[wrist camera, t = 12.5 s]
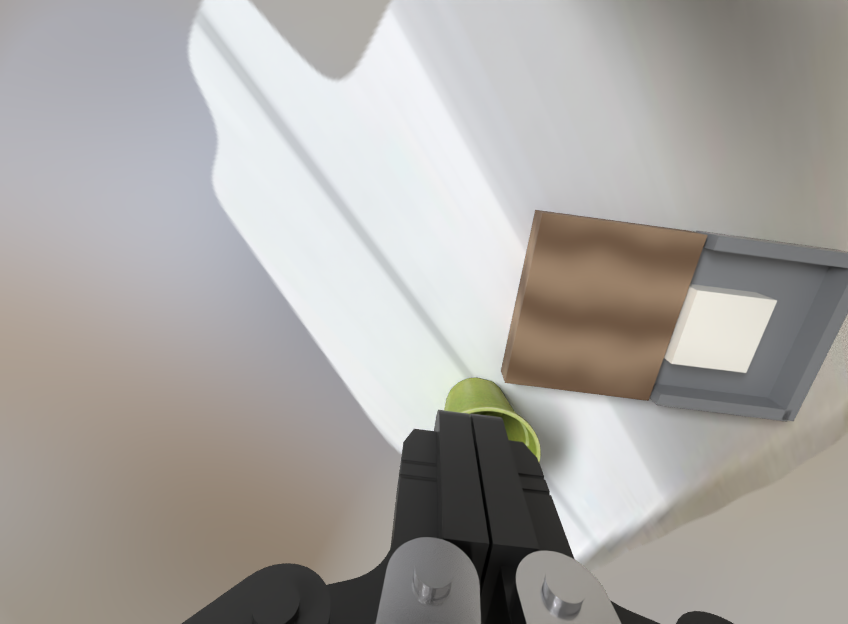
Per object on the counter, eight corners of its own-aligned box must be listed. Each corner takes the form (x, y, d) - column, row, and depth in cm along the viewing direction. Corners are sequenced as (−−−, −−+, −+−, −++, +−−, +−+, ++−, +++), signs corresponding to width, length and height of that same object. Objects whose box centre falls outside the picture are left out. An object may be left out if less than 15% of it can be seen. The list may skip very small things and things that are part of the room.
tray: (693, 230, 36) (715, 235, 33) (841, 250, 37) (875, 257, 34) (638, 388, 42) (653, 404, 39) (768, 405, 42) (793, 422, 39)
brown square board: (535, 209, 36) (542, 212, 34) (689, 230, 36) (707, 235, 34) (500, 370, 41) (505, 382, 39) (636, 387, 42) (648, 400, 39)
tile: (680, 282, 37) (697, 290, 35) (755, 292, 37) (777, 300, 35) (656, 352, 39) (671, 363, 37) (727, 360, 40) (746, 372, 37)
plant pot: (412, 389, 42) (407, 442, 34) (491, 345, 40) (506, 389, 32) (459, 453, 45) (465, 516, 36) (535, 414, 43) (560, 471, 35)
